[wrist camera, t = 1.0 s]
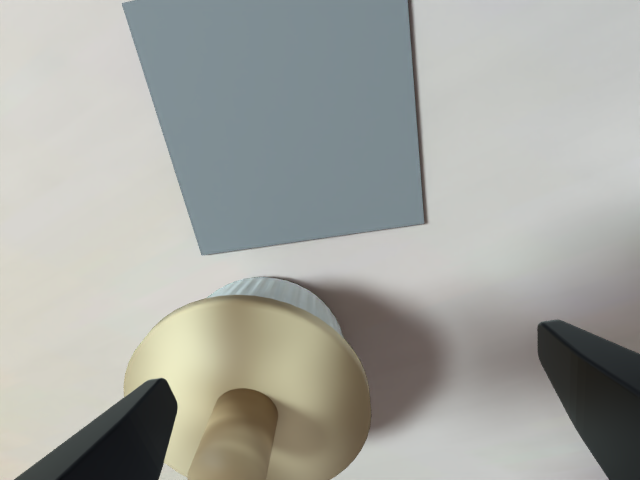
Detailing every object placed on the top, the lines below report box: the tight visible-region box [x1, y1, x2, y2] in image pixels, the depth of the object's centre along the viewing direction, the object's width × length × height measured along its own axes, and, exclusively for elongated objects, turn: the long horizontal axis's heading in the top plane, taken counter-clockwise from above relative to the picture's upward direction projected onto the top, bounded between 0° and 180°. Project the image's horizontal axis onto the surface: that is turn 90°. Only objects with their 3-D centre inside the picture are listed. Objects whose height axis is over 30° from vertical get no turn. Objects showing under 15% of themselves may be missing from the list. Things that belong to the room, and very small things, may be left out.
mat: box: [122, 0, 424, 255], centre depth 19 cm, size 13×13×1 cm
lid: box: [124, 295, 371, 480], centre depth 17 cm, size 12×12×4 cm
